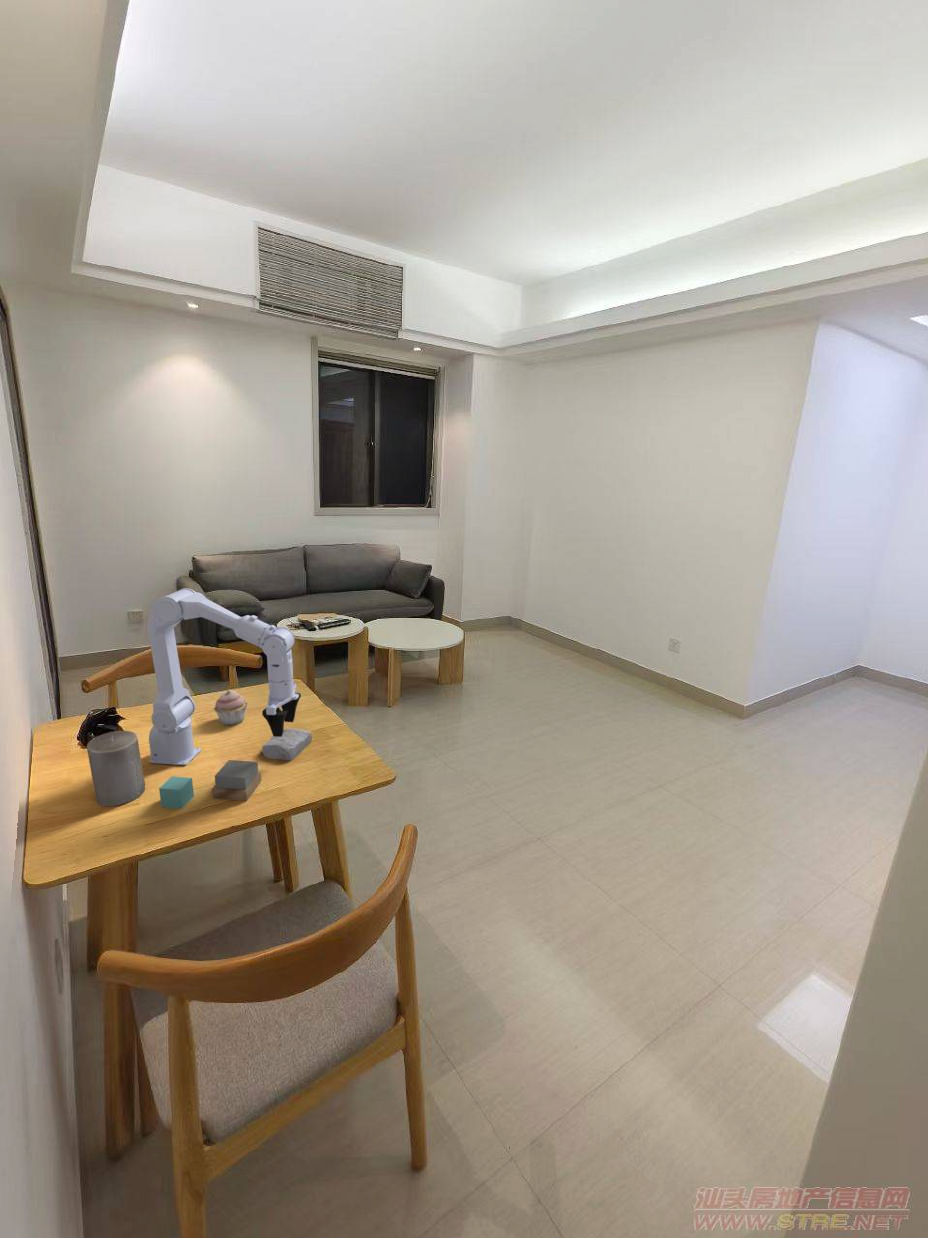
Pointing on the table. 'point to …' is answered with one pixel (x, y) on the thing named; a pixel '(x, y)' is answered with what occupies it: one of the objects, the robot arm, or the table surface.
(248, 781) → the grey block
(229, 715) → the cupcake
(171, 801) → the teal cube
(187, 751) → the robot arm
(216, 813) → the table surface
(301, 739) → the stone block
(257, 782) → the walnut slab
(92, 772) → the pillar candle
